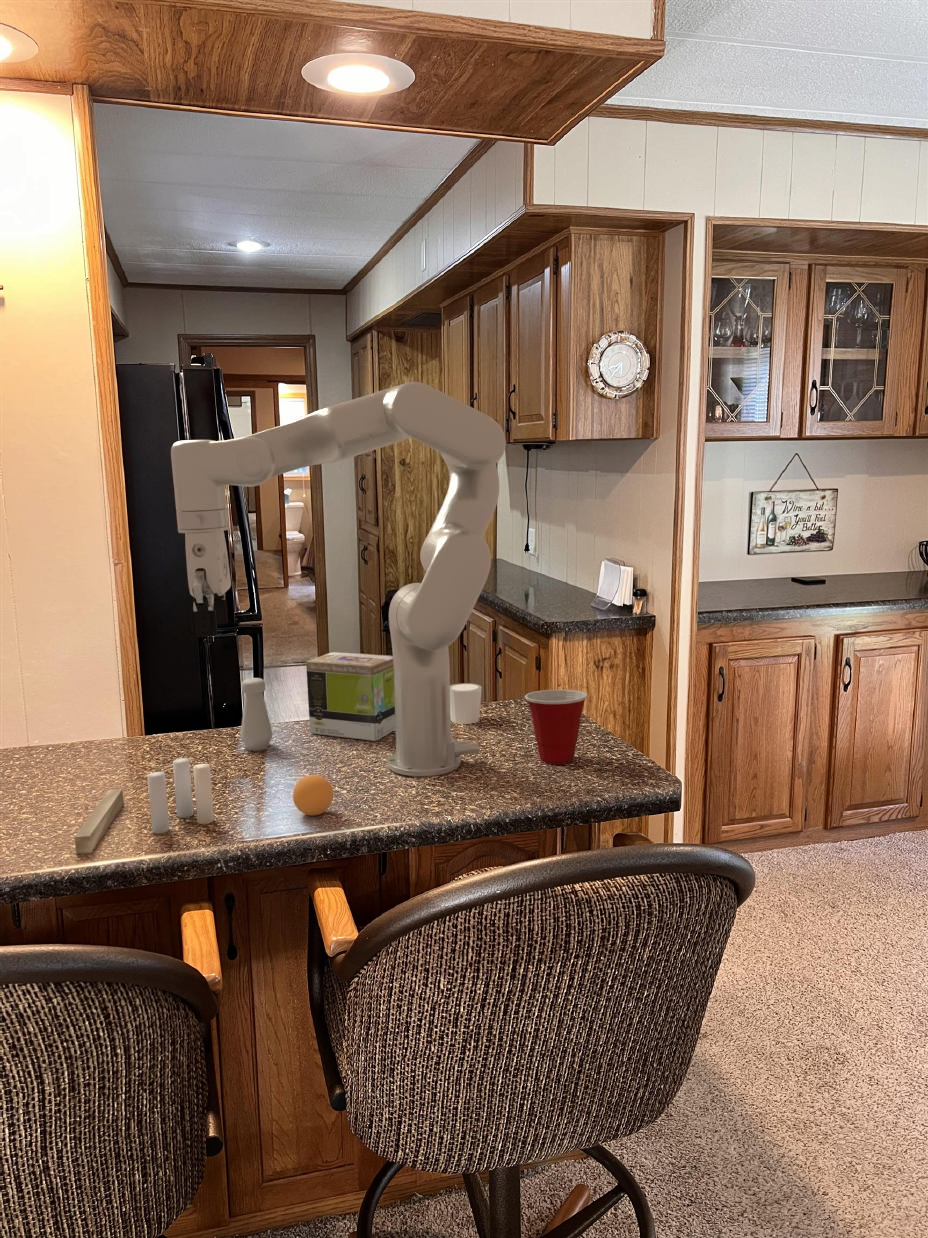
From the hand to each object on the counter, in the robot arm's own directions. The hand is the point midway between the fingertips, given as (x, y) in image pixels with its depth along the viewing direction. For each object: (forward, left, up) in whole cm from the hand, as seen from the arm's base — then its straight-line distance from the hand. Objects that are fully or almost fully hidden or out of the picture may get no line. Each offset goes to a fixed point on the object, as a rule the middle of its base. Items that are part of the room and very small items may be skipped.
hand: (212, 630), depth 145 cm
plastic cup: (-56, -5, -27) cm, 62 cm away
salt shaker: (-3, -21, -27) cm, 34 cm away
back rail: (+16, +13, -26) cm, 33 cm away
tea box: (-21, -28, -27) cm, 44 cm away
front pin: (+1, +13, -26) cm, 29 cm away
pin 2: (+4, +10, -26) cm, 29 cm away
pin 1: (+7, +15, -26) cm, 31 cm away
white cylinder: (-43, -31, -27) cm, 60 cm away
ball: (-15, +13, -23) cm, 31 cm away
